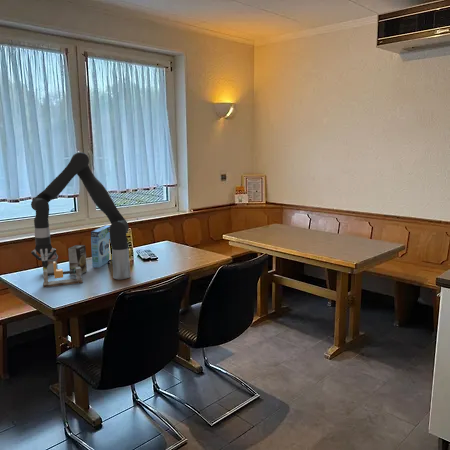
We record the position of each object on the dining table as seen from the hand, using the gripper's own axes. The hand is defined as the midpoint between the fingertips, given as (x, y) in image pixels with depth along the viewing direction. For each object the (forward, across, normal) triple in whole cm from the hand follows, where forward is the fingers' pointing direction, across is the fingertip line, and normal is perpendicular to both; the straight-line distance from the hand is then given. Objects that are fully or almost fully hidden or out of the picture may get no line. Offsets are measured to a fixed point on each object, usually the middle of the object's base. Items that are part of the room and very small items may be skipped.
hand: (45, 267), depth 234 cm
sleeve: (+6, -6, 0) cm, 9 cm away
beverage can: (+11, -3, -24) cm, 26 cm away
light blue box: (+11, -34, -32) cm, 48 cm away
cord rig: (+10, -8, 0) cm, 13 cm away
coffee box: (+11, -18, -17) cm, 27 cm away
